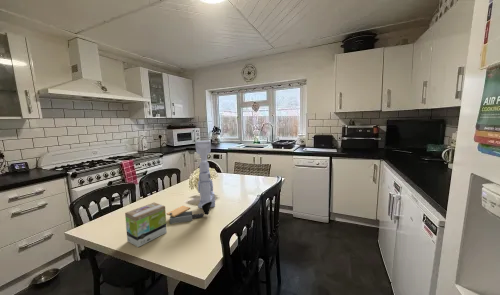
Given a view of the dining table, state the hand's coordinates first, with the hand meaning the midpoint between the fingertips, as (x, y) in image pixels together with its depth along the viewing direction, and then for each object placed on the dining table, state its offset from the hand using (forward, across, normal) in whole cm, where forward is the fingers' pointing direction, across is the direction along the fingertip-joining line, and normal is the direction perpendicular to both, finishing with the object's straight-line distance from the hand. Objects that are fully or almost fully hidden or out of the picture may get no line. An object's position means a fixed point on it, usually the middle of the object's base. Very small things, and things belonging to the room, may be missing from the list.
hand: (206, 214), depth 121 cm
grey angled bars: (+1, +8, -12) cm, 14 cm away
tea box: (+1, +28, -17) cm, 33 cm away
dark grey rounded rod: (+1, +3, -5) cm, 6 cm away
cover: (-2, +5, -16) cm, 17 cm away
